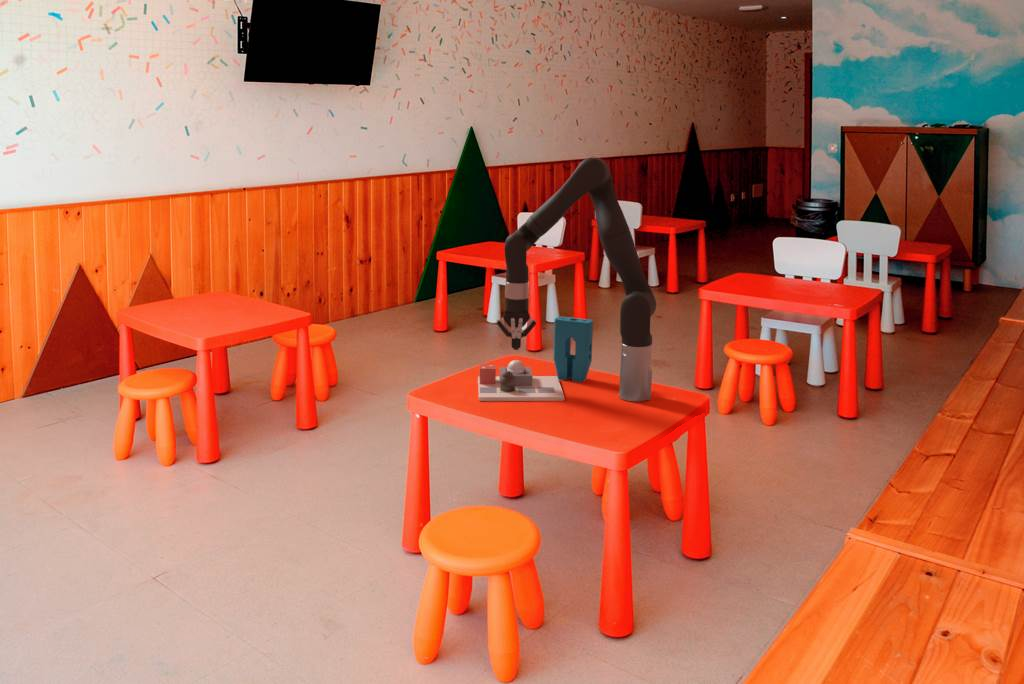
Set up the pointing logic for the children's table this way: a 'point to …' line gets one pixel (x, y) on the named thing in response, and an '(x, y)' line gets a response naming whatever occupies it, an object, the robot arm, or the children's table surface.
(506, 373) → the pawn
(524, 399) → the game board
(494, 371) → the die
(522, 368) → the dome
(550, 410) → the children's table surface
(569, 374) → the block
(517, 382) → the dome housing
